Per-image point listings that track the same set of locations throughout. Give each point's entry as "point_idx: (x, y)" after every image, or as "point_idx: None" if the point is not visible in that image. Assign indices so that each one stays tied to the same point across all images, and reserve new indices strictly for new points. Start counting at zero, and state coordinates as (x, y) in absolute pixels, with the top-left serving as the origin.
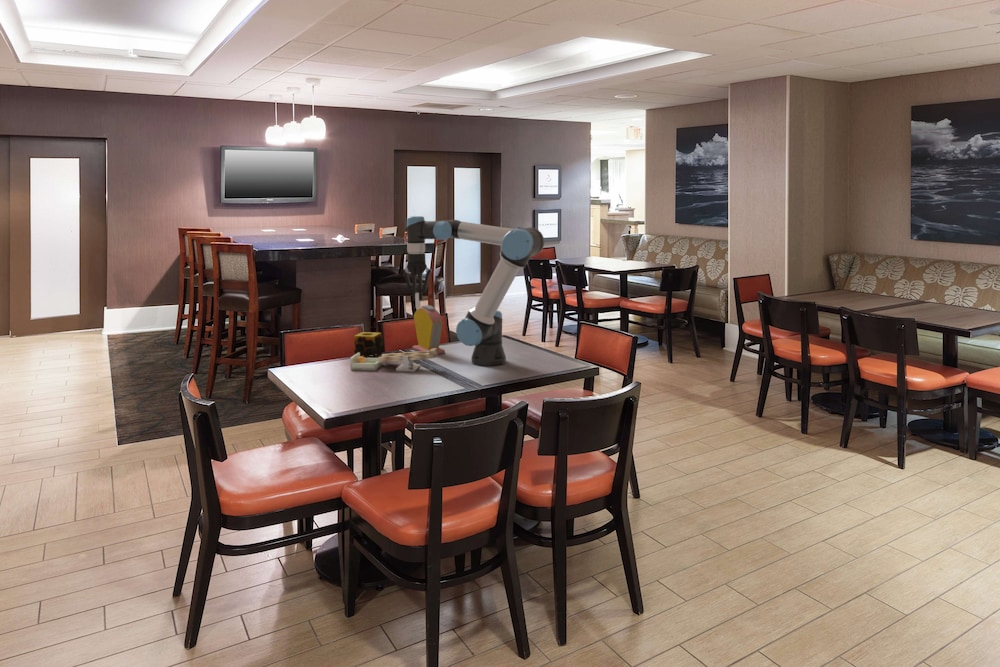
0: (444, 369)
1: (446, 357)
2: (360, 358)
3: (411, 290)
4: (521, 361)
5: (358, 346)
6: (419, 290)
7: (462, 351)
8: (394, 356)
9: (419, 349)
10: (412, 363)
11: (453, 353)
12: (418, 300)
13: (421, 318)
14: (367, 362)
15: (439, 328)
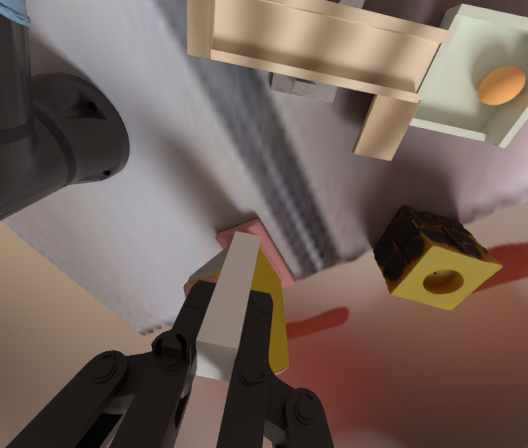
0: (184, 24)
1: (207, 196)
2: (517, 72)
3: (282, 405)
4: None
5: (465, 239)
6: (169, 379)
7: (181, 248)
8: (379, 14)
9: (278, 255)
10: (296, 78)
11: (197, 233)
12: (222, 276)
13: None
14: (453, 122)
15: (204, 267)
